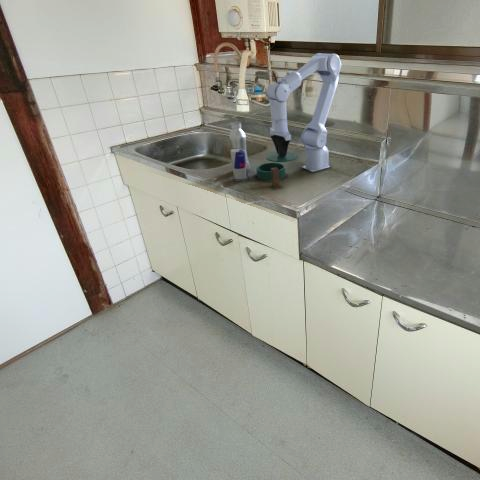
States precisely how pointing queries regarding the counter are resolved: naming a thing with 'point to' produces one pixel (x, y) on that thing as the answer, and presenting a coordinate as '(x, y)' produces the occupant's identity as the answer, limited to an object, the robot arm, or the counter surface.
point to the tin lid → (277, 158)
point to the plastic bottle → (239, 140)
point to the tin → (269, 170)
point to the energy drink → (239, 164)
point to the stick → (275, 177)
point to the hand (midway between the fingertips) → (281, 155)
